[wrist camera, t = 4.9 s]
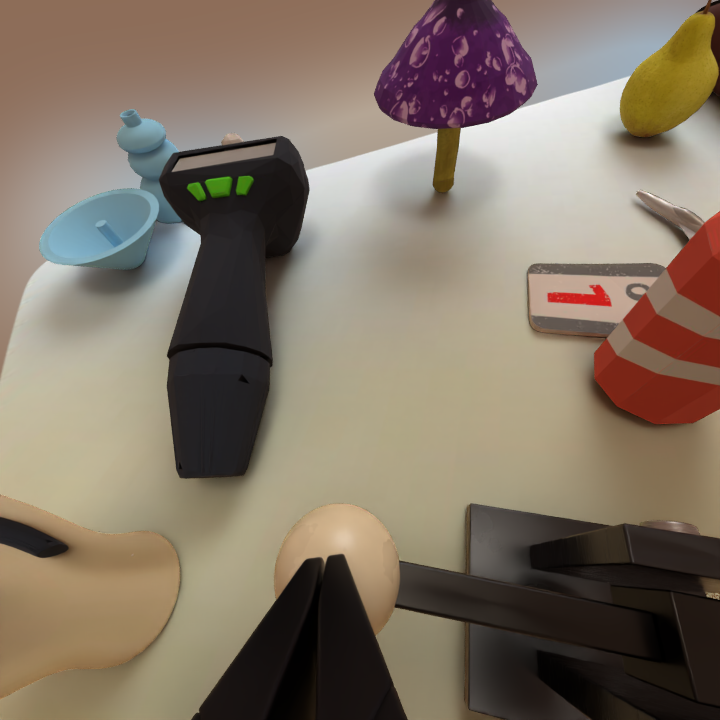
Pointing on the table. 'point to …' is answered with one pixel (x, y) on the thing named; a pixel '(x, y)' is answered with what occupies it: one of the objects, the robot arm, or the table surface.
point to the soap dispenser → (117, 208)
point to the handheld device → (228, 294)
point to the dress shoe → (715, 39)
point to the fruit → (672, 80)
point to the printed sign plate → (586, 295)
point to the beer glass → (77, 594)
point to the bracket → (582, 579)
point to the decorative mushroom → (456, 76)
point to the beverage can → (670, 340)
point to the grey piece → (673, 213)
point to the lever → (520, 604)
